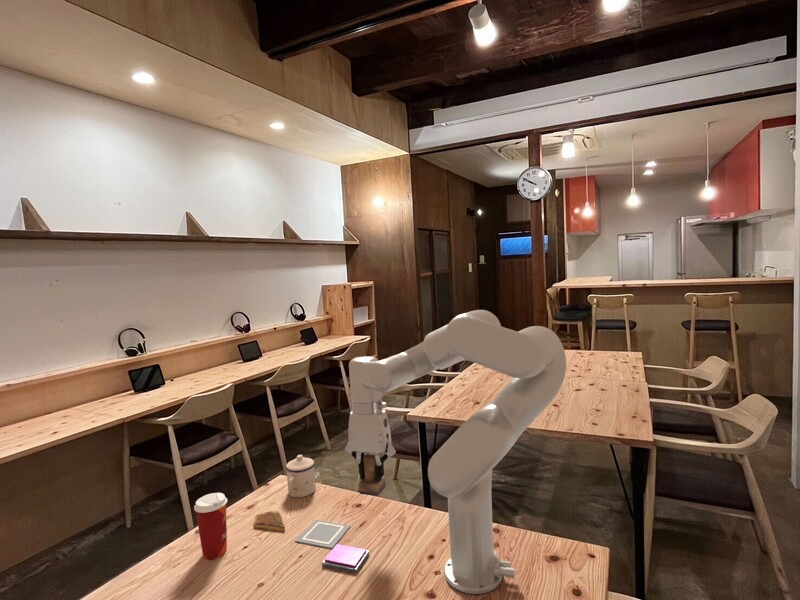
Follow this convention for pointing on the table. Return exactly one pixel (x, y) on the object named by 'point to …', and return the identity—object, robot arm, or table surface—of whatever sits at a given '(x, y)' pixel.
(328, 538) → the marked card
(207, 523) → the paper cup
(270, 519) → the shard
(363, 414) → the robot arm
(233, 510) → the table surface
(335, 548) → the ink pad
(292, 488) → the teacup with lid
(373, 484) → the stamp
